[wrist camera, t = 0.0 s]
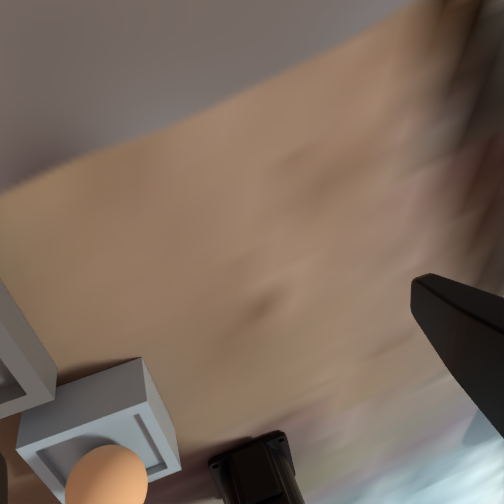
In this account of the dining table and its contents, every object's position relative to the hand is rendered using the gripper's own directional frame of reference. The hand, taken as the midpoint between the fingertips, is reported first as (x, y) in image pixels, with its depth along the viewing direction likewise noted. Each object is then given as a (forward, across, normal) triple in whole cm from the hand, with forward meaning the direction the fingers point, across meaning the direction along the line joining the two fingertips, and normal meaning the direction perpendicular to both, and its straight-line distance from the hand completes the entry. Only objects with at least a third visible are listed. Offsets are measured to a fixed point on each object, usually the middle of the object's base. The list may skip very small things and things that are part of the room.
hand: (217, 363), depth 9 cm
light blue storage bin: (+15, +8, +16) cm, 23 cm away
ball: (+10, +8, +16) cm, 21 cm away
